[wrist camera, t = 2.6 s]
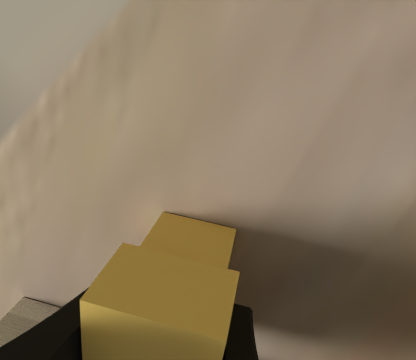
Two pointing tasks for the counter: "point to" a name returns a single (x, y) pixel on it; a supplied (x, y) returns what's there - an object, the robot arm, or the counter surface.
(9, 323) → the rail
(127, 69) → the counter surface
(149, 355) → the yellow block with ridge
